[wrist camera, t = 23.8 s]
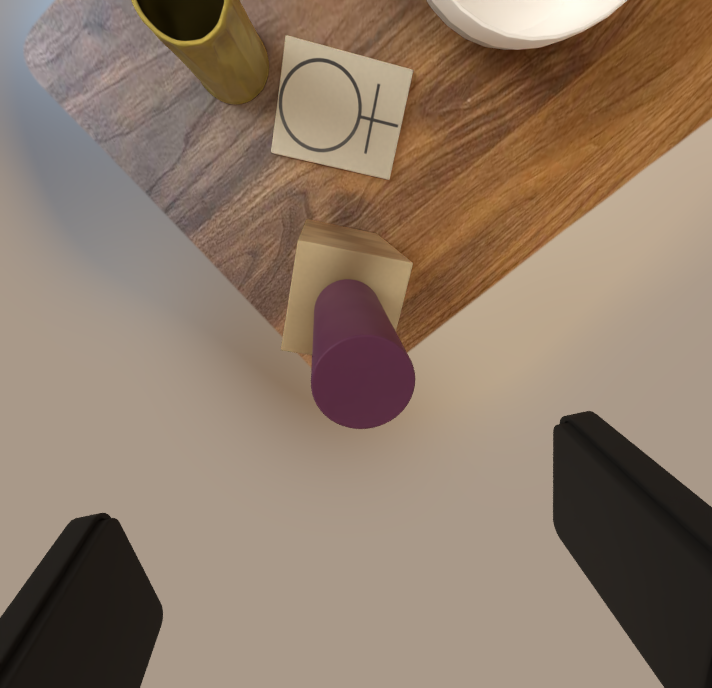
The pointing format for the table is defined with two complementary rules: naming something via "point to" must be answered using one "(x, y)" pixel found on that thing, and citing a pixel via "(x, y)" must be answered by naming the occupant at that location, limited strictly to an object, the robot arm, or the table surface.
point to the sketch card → (339, 108)
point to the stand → (340, 275)
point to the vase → (211, 44)
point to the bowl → (521, 20)
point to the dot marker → (358, 358)
